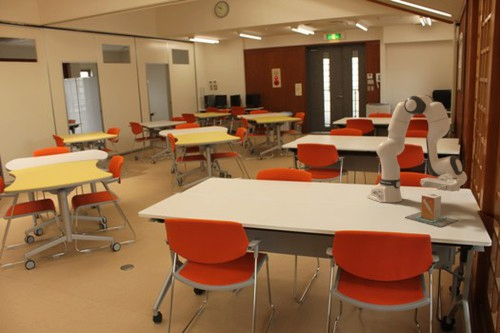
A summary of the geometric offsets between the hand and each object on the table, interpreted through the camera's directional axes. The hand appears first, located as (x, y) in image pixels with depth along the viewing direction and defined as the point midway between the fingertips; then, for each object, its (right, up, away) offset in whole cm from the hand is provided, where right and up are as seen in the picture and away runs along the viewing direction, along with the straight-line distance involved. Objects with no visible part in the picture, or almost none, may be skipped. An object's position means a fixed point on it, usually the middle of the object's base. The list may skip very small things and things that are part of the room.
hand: (430, 186), depth 242 cm
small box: (+2, -18, +4) cm, 18 cm away
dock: (+2, -18, +4) cm, 19 cm away
